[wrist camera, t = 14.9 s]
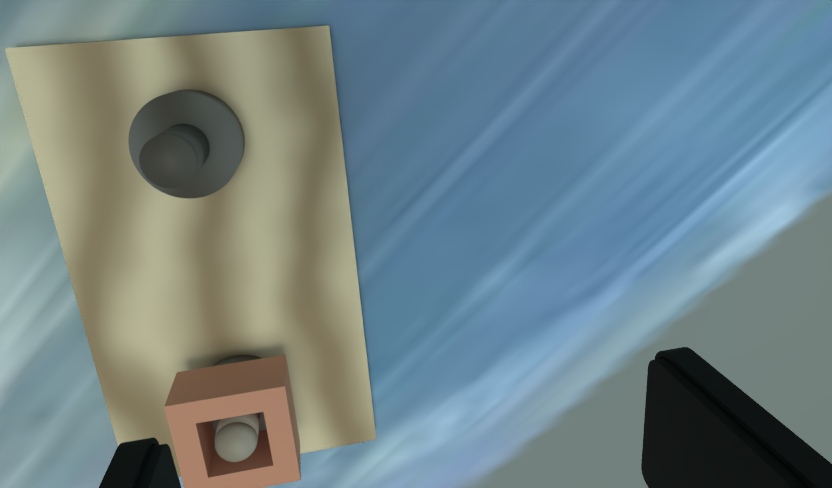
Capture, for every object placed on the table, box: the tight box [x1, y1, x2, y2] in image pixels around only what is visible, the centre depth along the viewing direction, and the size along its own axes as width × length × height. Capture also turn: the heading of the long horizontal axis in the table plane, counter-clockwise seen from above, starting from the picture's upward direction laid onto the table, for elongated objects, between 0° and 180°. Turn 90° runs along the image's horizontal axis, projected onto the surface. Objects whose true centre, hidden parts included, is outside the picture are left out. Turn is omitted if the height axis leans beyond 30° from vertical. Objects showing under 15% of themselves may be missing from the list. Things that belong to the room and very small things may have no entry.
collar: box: [164, 355, 301, 488], centre depth 38 cm, size 7×7×4 cm
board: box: [5, 25, 376, 476], centre depth 36 cm, size 18×30×10 cm, turn 5°
